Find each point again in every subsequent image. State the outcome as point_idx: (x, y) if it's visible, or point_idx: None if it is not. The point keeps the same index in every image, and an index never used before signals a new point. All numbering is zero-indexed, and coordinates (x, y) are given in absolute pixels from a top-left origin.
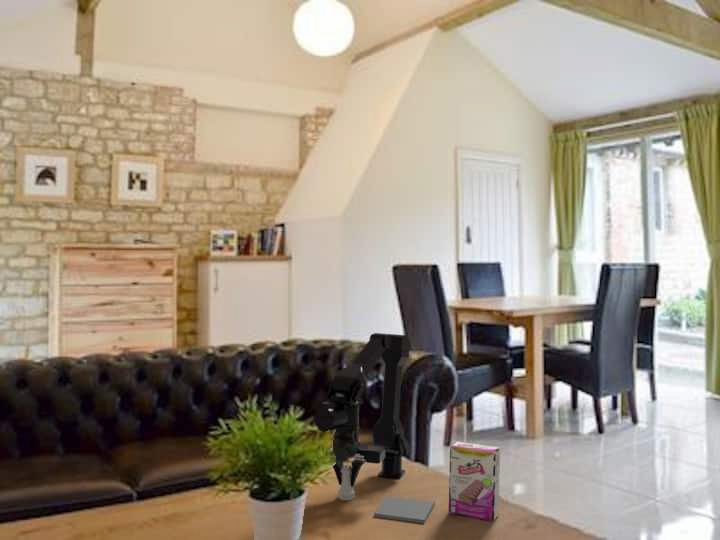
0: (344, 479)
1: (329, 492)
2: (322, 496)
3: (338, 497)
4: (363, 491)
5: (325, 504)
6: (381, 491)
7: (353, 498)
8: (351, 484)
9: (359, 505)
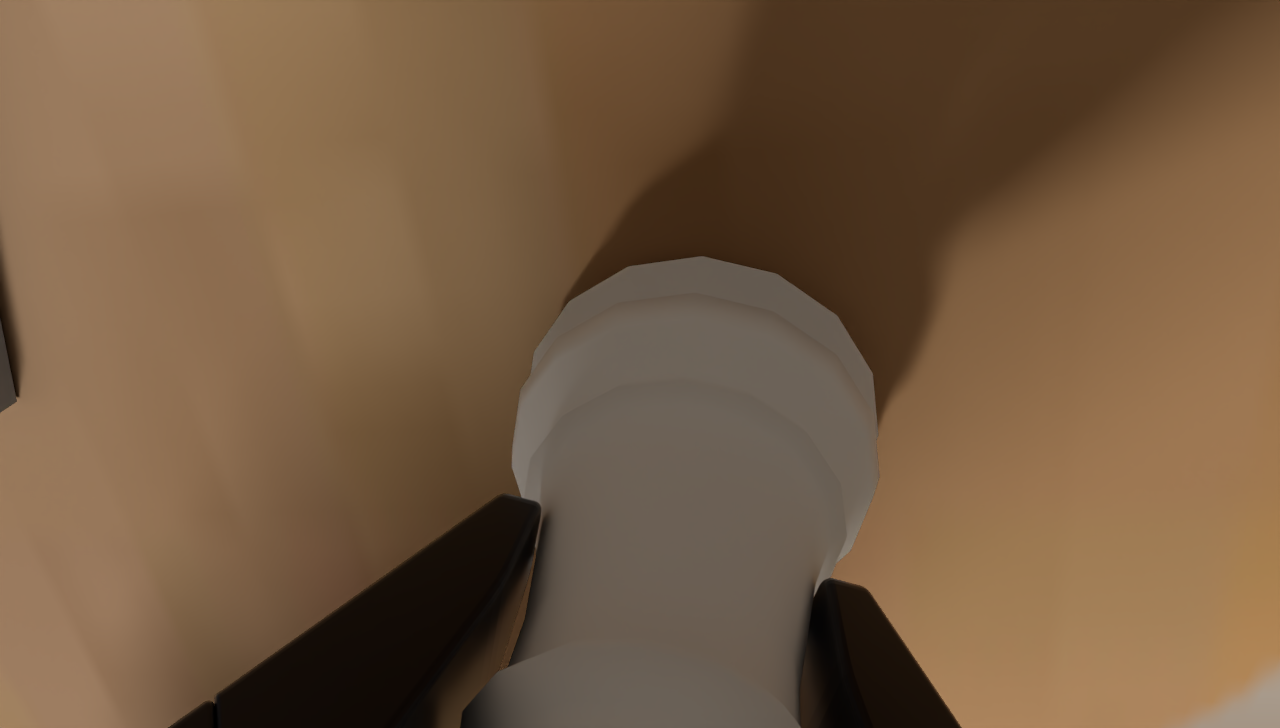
0: (702, 632)
1: (1028, 636)
2: (1194, 468)
3: (858, 354)
4: None
5: (1184, 7)
6: (220, 663)
7: (548, 344)
8: (513, 521)
9: (378, 49)
